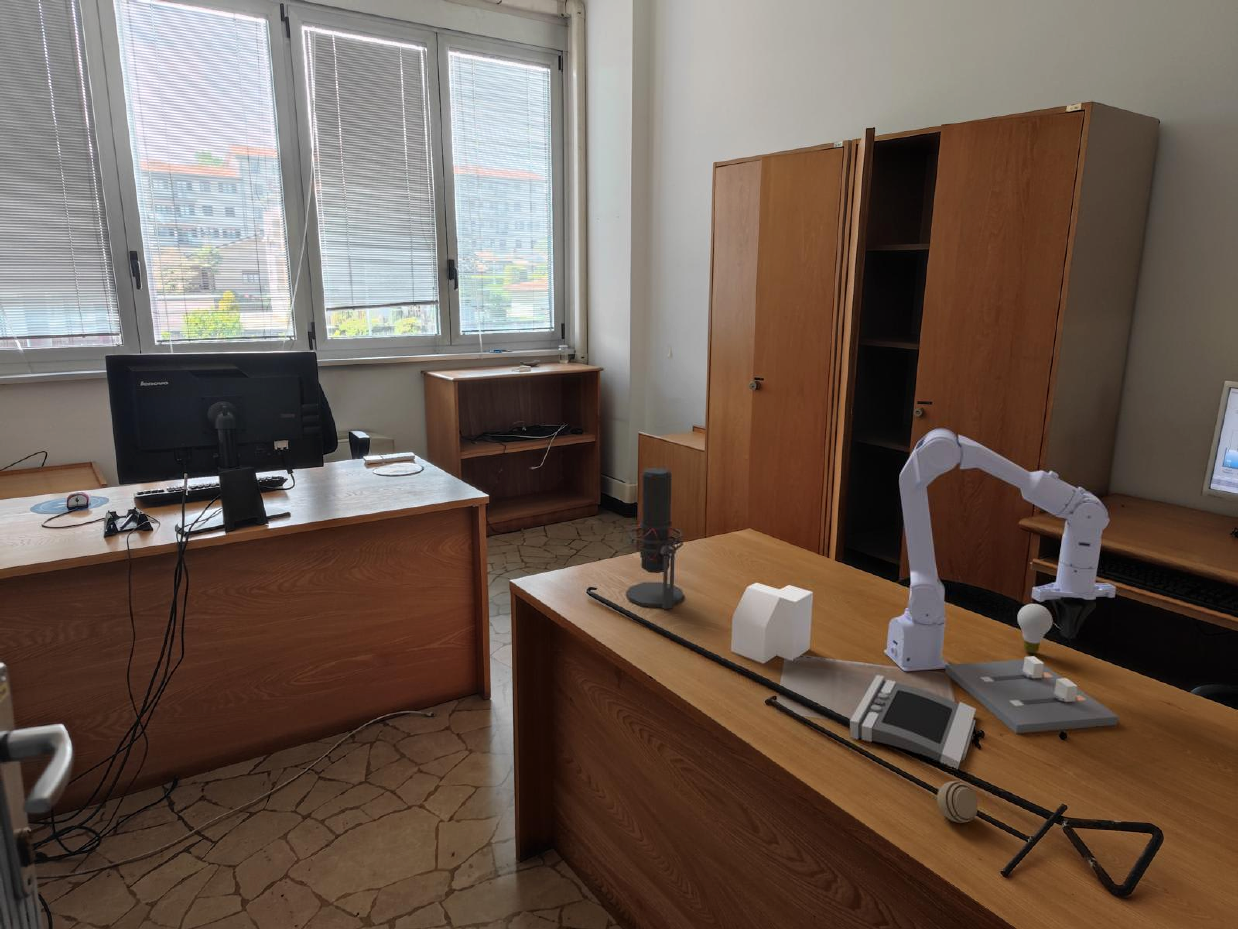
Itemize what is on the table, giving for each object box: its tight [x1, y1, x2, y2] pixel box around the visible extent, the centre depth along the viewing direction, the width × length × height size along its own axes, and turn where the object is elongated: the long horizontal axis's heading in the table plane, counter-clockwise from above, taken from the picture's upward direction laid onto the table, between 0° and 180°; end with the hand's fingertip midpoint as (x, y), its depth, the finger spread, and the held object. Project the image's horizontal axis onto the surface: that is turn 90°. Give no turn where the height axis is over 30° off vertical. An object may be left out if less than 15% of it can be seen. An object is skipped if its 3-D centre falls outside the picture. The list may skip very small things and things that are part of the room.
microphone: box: [625, 467, 685, 610], centre depth 169 cm, size 14×13×30 cm
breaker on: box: [1021, 655, 1045, 678], centre depth 134 cm, size 3×3×3 cm
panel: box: [944, 659, 1119, 734], centre depth 130 cm, size 18×20×2 cm
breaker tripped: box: [1053, 677, 1078, 702], centre depth 126 cm, size 3×3×3 cm
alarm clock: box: [849, 674, 977, 770], centre depth 120 cm, size 17×5×16 cm
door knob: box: [936, 780, 979, 824], centre depth 99 cm, size 5×5×5 cm
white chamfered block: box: [730, 582, 814, 664], centre depth 145 cm, size 11×11×12 cm
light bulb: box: [1017, 603, 1053, 655], centre depth 145 cm, size 6×6×10 cm
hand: (1067, 636), depth 132 cm, fingers closed
